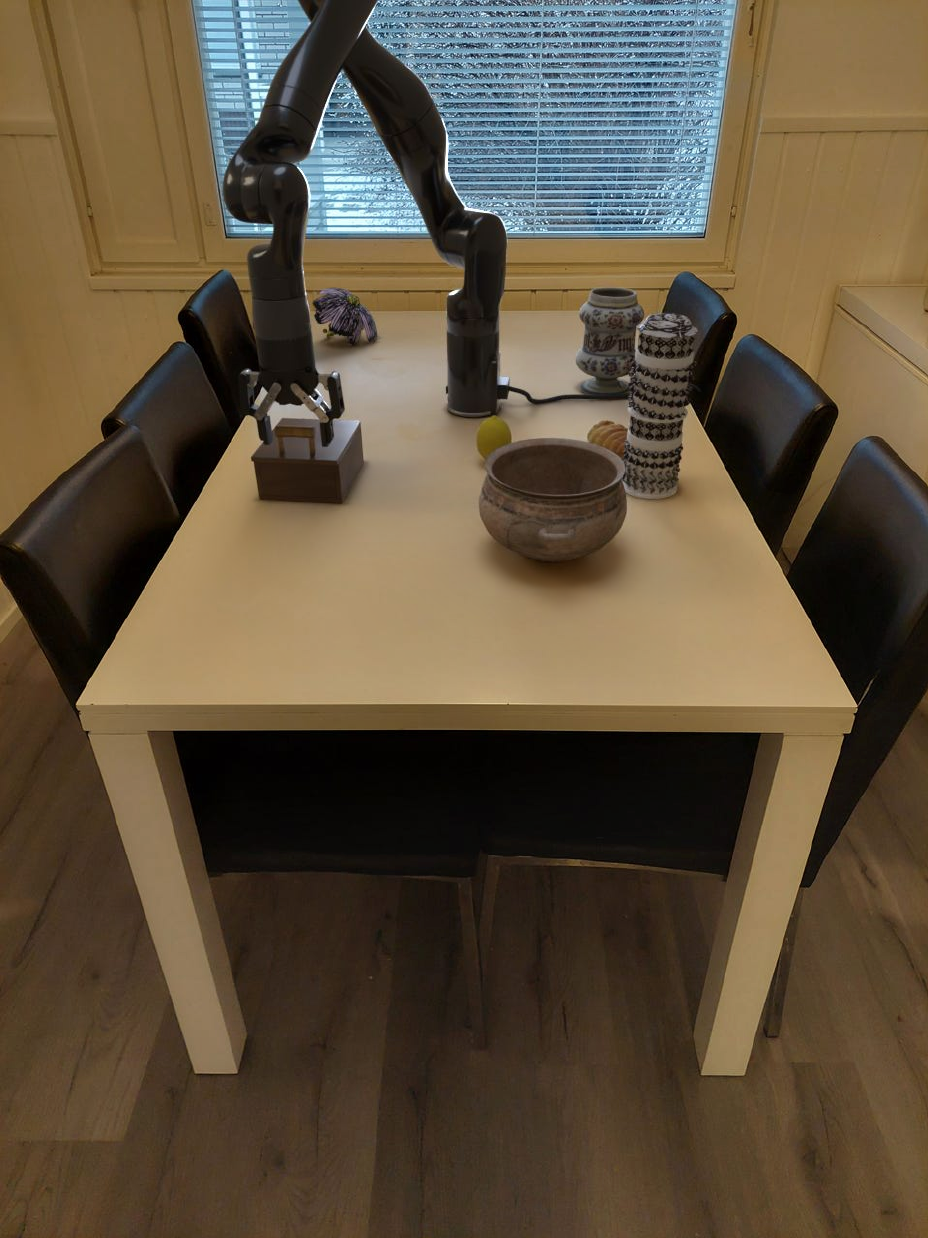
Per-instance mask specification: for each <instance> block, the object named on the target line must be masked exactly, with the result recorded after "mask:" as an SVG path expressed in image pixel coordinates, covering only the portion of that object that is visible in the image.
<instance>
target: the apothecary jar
mask: <svg viewBox="0 0 928 1238" xmlns="http://www.w3.org/2000/svg"><path fill="white" fill-rule="evenodd" d="M582 304H583V305H582V306H581V307H580V309H579V312H578V315H579V317H578V318H579V320H580V321H581V323H583V324H584V333H583V341H582V347H580V349H579V350H578V351H577V352H576V354H575V357H574V360H575V365H576V366H577V368H578V369H579V370H580V371H581V372H582V373H584V374H586V375H588V376H591V378H589V379H587V380H585V381H583V382H582V383H581V384H580V385H579V390H580V392H582V394H622V393H631V392H630V391H629V386H628V384H629V382H627V381H624V380H622V379H620V378H622V377H626V376H629V373H630V372H631V369H632V366H631V365H630V363H631V362H630V358H631V357H632V356H635V354H636V349H637V348H636V338H637V337H636V336H637V327H638V325H640V324H642V323H643V322H644V319H645V311H644V309H643V308H644V307H642V305H641V304H640V303H639V300H638V294H637V292H636V291H635V290H633V289H631V288H626V287H618V286H617V287H615V286H602V287H601V286H600V287H595V288H593V289H591V290H590V291H589V297H588V299H587V301H586V302H584V303H582ZM636 365H637V362H636Z"/></svg>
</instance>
